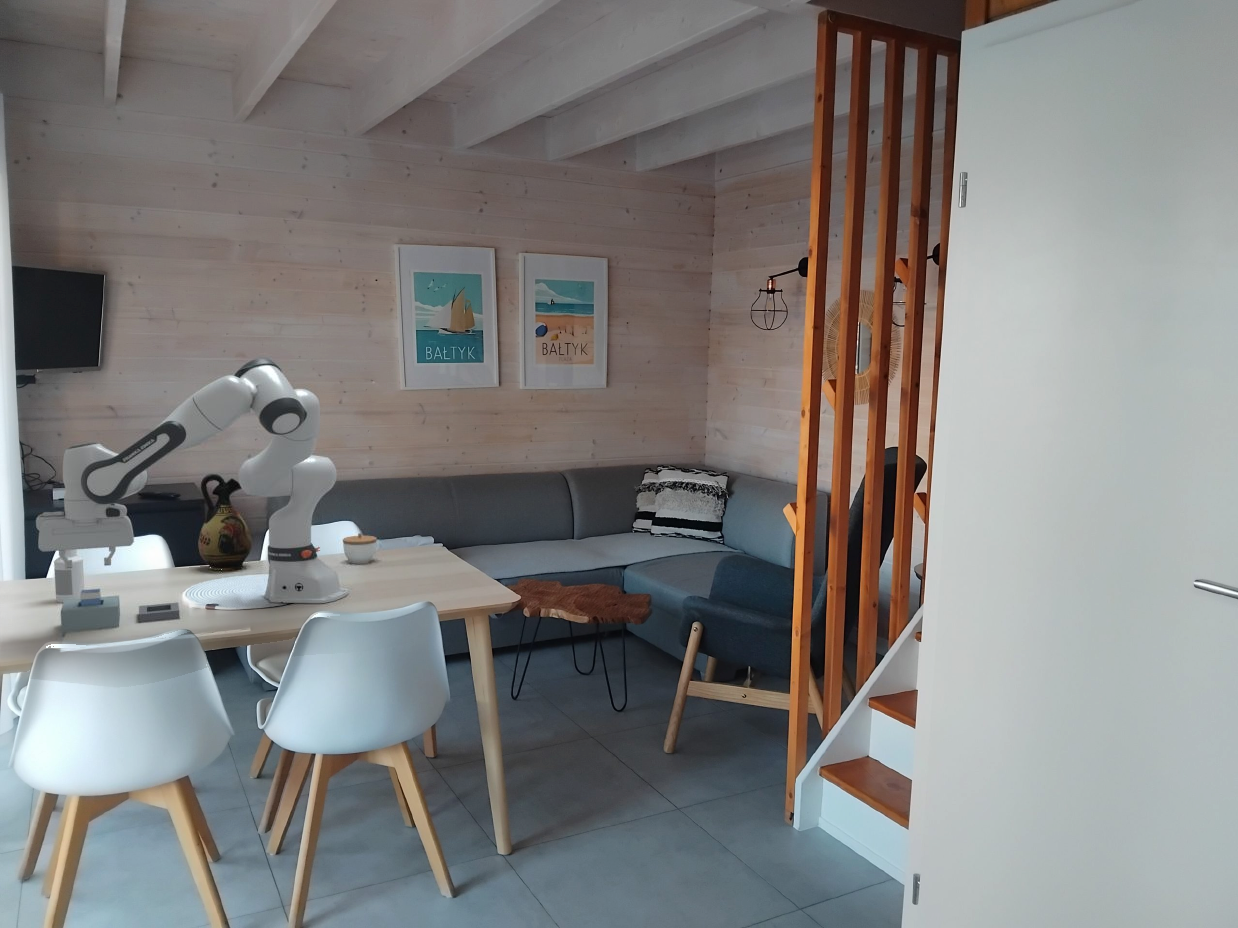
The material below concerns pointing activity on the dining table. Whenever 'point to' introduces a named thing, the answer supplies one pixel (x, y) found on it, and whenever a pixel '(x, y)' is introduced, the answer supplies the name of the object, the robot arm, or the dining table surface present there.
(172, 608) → the holster
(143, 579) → the dining table surface
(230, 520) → the ceramic jug
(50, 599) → the dining table surface
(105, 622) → the port block
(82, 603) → the plug
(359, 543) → the lidded jar
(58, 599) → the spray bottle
